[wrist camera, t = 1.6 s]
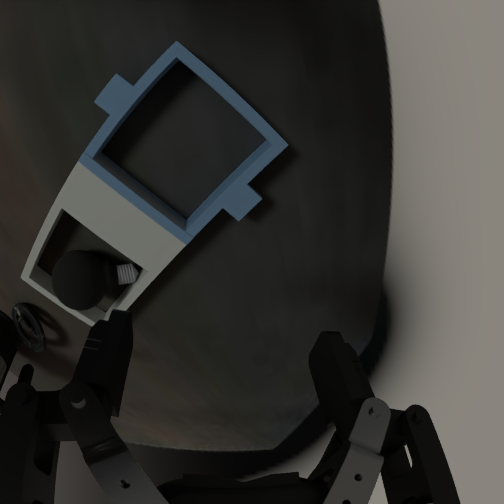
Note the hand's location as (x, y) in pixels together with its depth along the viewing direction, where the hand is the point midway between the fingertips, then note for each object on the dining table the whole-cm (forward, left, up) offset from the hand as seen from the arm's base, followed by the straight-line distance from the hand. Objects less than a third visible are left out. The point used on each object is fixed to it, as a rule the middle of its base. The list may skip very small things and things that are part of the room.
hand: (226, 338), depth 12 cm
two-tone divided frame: (-5, -7, -19) cm, 21 cm away
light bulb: (-4, -15, -19) cm, 25 cm away
